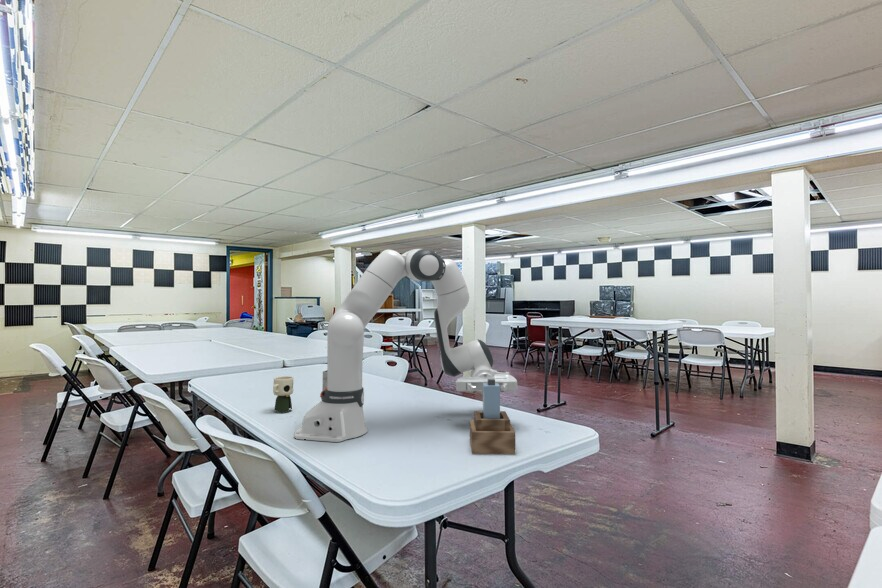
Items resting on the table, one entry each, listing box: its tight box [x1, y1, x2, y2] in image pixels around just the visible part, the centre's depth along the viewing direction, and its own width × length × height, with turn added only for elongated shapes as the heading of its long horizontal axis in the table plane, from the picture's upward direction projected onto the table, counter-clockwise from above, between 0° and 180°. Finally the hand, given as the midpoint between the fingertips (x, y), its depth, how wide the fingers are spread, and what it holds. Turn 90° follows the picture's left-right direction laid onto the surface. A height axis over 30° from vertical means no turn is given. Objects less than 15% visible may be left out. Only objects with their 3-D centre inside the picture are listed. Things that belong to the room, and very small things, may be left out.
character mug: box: [272, 375, 294, 413], centre depth 158 cm, size 11×7×13 cm, turn 162°
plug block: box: [482, 379, 501, 419], centre depth 120 cm, size 4×4×14 cm
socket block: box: [469, 410, 516, 455], centre depth 120 cm, size 12×12×9 cm
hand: (488, 389), depth 130 cm, fingers open, 8 cm apart
